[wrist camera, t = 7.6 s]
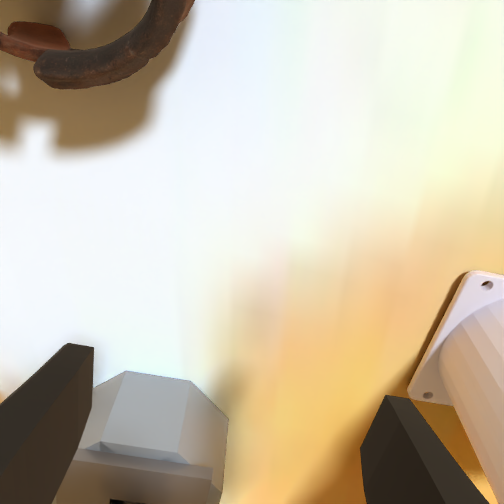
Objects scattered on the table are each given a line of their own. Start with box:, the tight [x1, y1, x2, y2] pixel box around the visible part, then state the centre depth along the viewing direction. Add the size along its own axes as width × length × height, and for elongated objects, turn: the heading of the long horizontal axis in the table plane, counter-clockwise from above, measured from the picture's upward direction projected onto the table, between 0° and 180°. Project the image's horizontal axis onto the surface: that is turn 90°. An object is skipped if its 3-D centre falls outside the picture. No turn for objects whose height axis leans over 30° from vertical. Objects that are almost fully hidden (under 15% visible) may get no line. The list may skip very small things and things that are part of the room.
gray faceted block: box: [52, 371, 229, 504], centre depth 24 cm, size 10×8×5 cm
